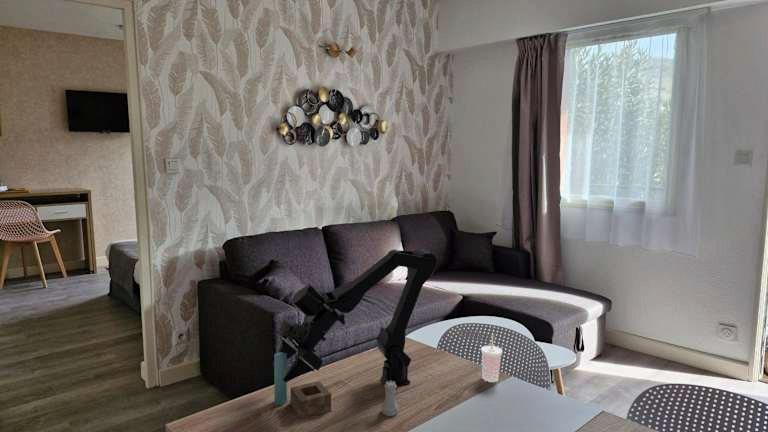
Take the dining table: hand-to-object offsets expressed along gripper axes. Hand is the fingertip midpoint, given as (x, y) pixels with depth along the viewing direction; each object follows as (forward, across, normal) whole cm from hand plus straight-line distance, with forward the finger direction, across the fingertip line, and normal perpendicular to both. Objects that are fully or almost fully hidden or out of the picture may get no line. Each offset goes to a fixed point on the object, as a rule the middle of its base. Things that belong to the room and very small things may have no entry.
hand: (278, 373), depth 132 cm
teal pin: (+5, 0, +6) cm, 8 cm away
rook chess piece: (-11, +18, +22) cm, 30 cm away
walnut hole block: (+1, +6, +10) cm, 12 cm away
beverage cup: (-37, +14, +48) cm, 62 cm away
